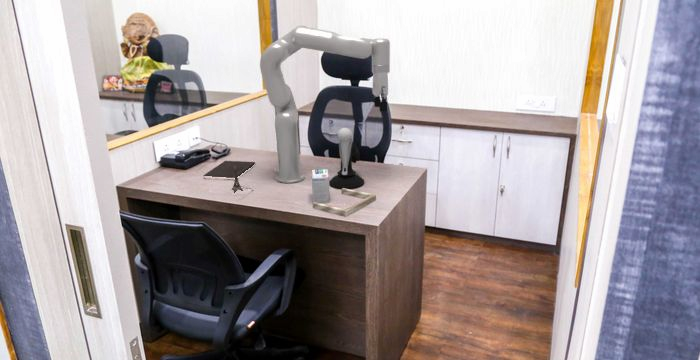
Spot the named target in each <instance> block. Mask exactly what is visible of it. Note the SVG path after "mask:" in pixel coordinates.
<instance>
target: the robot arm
mask: <svg viewBox="0 0 700 360" xmlns="http://www.w3.org/2000/svg"><path fill="white" fill-rule="evenodd" d="M302 49H306V50H307V49H308V50H314V51H319V52H323V53H329V54H334V55H340V56H345V57H350V58H351V57H352V58H356V59H367V58H369V57H370V56H371V73H372V75H373V76H372V95H373V96H374V107H375V108H379V111H380V112H387V111H388V95H389V82H388V81H389V79H388V75H389V73H390V72H391V71H390V69H391V68H390V67H391V63H390V62H391V60H390V58H391V55H390V54H391V50H390V49H391V42H390V40H389V38H375V39H373V38H365V37H362V38H357V37H356V38H355V37H349V36H344V35H341V34H338V33H336V32H334V31H330V30H324V29H319V28H313V27H307V26H306V25H297V26H295V28H293V29H292V30H290V31H289V32H288V33H286V34H284V35H283V36H282V37H280V38H278V39H277V40H275V41H274V42H272V43H271V44H270V45H269V46H267V47H266V49H265V50H264V51H263V53H262V54H261V57H260V60H259V61H260V62H259V69H260V73H261V77H262V80H263V83H264V87H265V90H266V93H267V98H268V102H269V103H270V104H271V105H272V106H273V107H274V110H275V113H276V115H275V118H274V128H275V135H276V137H275V138H276V146H277V158H278V166H276V167H275V169H274V170H273V172H274V173H277V176H276V177H275V178H276V179H275V180H276V181H277V182H279V183H281V182H282V184H283V183H284V184H295V183H299V182H301V181H303V180H304V179H305V174H303V173H302V172H301V171H302V170H301V158H300V157H301V156H300V141H299V132H298V131H299V129H298V123H299V111H298V109H297V105H296V102H295V101H296V100H295V99H294V95H293V91H292V89H291V87H290V86H289V85H288V84H286V81H285V78H284V75H283V74H284V73H283V71H282V68H281V65H282V63H283V62H285V61H286V60H287V59H288V58H289V57H291V56H292V55H294V54H296V53H297V52H298V51H300V50H302Z"/></svg>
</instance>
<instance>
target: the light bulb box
mask: <svg viewBox="0 0 700 360" xmlns="http://www.w3.org/2000/svg"><path fill="white" fill-rule="evenodd" d="M329 181H330V179H329V170H328V169H327V168H323V169H322V168H321V169H312V170H311V191H312V204H313V203H314V202H317V203H321V204H325V203H330V185H329Z"/></svg>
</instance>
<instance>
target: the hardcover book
mask: <svg viewBox="0 0 700 360" xmlns="http://www.w3.org/2000/svg"><path fill="white" fill-rule="evenodd" d="M234 164H235V165H234ZM254 164H255V165H256V163H255V161H241V160H240V161H239V160H224V161H222V162H221V163H220V164H218V165H216V166H215V167H213V168H211V170H209V171H208V172H206V173H205V174H203V177H204V176H212V177H226V178H235V170H234V166H235V167H236V174H237V177H238V176H240V175H241V174H242V173H244V172H245V171H246V170H248V169H249V168H251V167H252V166H253V165H254ZM252 168H253V167H252ZM252 168H251V169H252Z"/></svg>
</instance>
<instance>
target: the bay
mask: <svg viewBox="0 0 700 360" xmlns="http://www.w3.org/2000/svg"><path fill="white" fill-rule="evenodd" d="M340 191H341V194H342V195H346V196H351V197H355V198H359V199H362V200H360V201H357V203H355V204H353V205H351V206H349V207H347V208H345V209H344V208H340V207H336V206H333V205H328V204H325V203H317V202H314V203H313V202H312V208H313V209H315V210H318V211H323V212H327V213H330V214H334V215H339V216H340V217H341V216H343V217H345V218H347V217H348V216H350V215H352V214H354V213H355V212H357V211H359V210H361V209H362V208H364V207H366V206H369V204H371V203H373V202H375V201H376V200H377V194H373V193H369V192H363V191H358V190H356V189H346V188H342V189H340Z"/></svg>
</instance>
